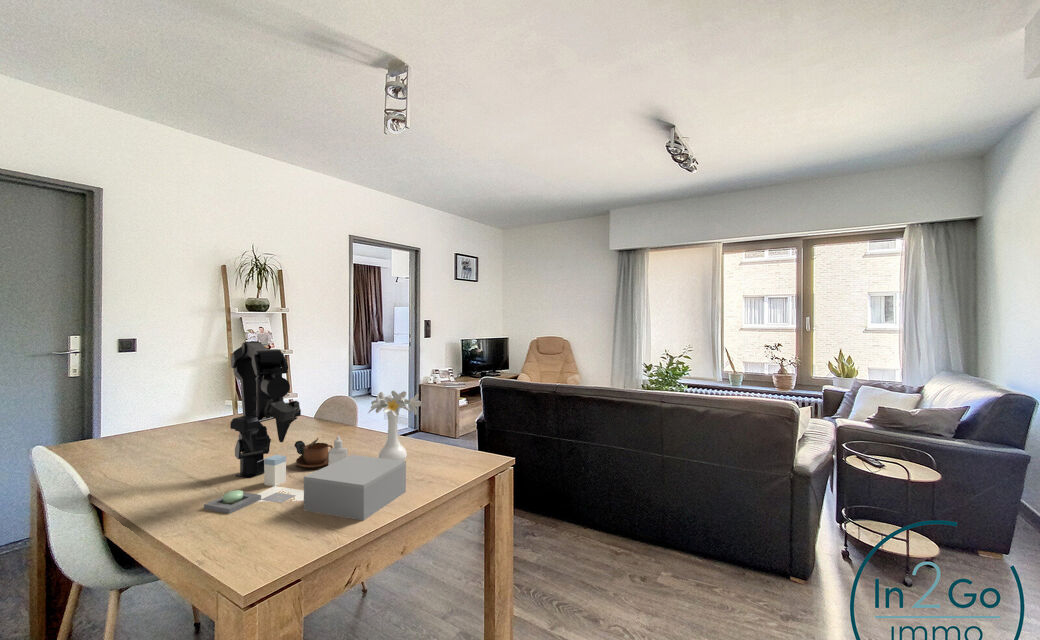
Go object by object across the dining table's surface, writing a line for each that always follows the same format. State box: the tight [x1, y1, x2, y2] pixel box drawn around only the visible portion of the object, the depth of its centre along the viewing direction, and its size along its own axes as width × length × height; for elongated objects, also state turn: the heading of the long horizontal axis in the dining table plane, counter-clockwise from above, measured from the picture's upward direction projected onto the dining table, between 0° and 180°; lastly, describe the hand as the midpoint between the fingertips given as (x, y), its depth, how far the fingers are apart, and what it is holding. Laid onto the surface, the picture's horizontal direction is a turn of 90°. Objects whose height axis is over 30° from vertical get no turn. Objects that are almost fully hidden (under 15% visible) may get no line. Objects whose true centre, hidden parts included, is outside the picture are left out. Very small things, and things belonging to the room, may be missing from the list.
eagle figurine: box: [294, 437, 319, 467], centre depth 146 cm, size 8×7×9 cm
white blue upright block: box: [263, 454, 287, 487], centre depth 128 cm, size 4×4×8 cm
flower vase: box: [367, 390, 423, 461], centre depth 145 cm, size 13×18×25 cm
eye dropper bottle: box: [327, 435, 349, 466], centre depth 137 cm, size 4×6×12 cm
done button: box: [222, 489, 244, 504], centre depth 113 cm, size 4×4×2 cm
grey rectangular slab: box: [303, 454, 407, 521], centre depth 115 cm, size 18×18×9 cm
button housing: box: [203, 491, 261, 515], centre depth 113 cm, size 9×9×2 cm
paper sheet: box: [256, 485, 304, 504], centre depth 117 cm, size 16×12×1 cm
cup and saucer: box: [296, 442, 334, 469], centre depth 145 cm, size 12×12×6 cm
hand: (267, 446), depth 123 cm, fingers open, 9 cm apart
